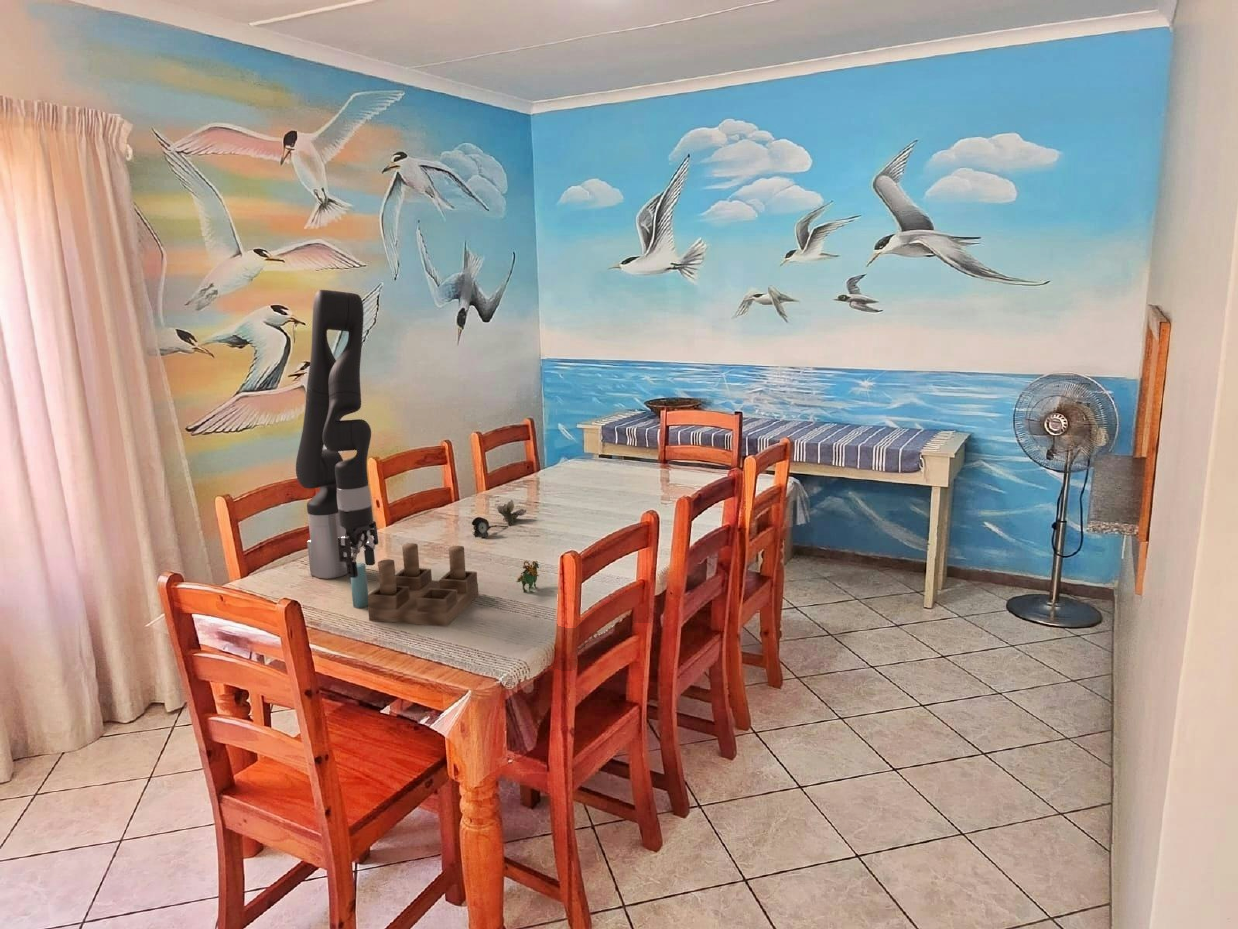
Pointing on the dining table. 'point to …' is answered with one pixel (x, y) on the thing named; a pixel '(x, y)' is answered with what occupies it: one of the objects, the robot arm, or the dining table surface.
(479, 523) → the artificial flower
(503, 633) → the dining table surface
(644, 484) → the dining table surface
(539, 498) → the dining table surface
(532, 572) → the figurine
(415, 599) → the stool seat
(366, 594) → the loose leg
